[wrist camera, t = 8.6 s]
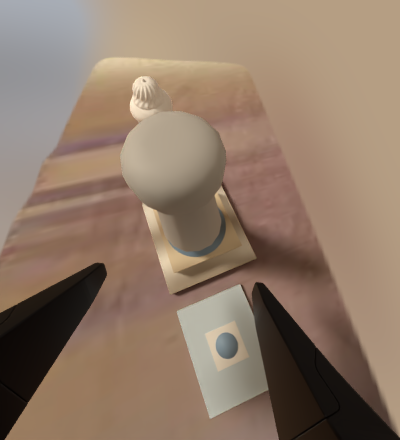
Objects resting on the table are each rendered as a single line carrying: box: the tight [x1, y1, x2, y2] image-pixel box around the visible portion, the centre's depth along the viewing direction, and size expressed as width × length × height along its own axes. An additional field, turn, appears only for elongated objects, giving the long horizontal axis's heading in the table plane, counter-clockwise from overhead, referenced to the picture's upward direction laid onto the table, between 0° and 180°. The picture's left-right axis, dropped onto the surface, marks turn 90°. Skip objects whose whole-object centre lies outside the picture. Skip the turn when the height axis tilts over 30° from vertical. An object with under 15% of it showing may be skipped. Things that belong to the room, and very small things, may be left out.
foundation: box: [142, 186, 257, 295], centre depth 20 cm, size 12×11×3 cm
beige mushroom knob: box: [120, 111, 226, 252], centre depth 12 cm, size 6×6×13 cm
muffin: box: [130, 76, 173, 123], centre depth 23 cm, size 6×6×7 cm
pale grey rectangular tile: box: [177, 284, 268, 419], centre depth 17 cm, size 10×8×1 cm
